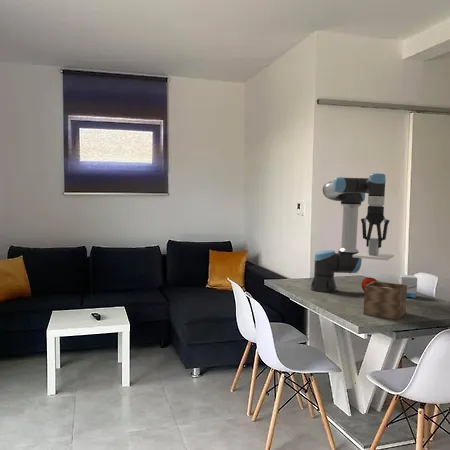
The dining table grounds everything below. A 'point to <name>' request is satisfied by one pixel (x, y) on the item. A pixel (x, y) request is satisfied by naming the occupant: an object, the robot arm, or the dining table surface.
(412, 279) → the ink box
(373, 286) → the crate
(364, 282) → the apple
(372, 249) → the lid
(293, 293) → the dining table surface
